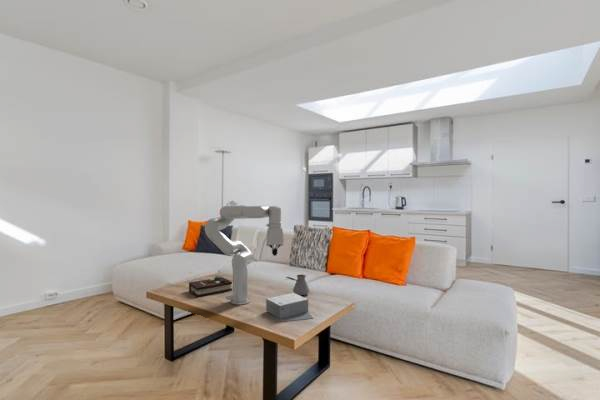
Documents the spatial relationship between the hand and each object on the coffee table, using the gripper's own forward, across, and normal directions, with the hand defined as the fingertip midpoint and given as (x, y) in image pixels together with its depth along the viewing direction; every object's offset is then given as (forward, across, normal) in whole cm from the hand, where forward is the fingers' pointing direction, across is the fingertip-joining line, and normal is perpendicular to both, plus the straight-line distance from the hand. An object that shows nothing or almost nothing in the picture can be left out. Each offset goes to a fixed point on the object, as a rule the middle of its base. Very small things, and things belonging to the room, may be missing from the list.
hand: (274, 255), depth 193 cm
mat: (+31, +6, -18) cm, 37 cm away
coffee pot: (+31, +18, +14) cm, 39 cm away
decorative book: (+32, -39, +41) cm, 65 cm away
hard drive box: (+27, -5, -17) cm, 32 cm away
